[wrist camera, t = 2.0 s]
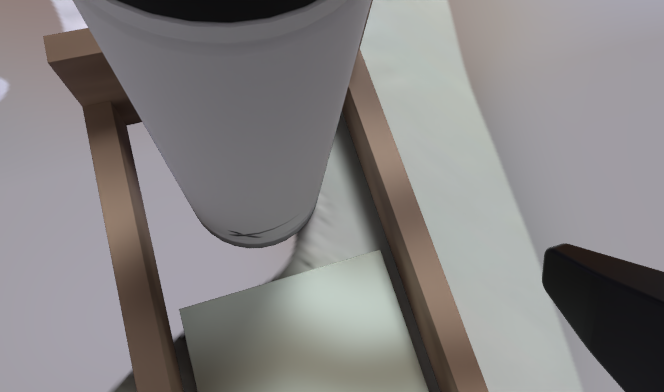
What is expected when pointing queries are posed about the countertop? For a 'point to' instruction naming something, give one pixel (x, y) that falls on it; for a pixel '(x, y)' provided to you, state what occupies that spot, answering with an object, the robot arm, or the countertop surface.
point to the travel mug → (236, 99)
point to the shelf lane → (284, 294)
